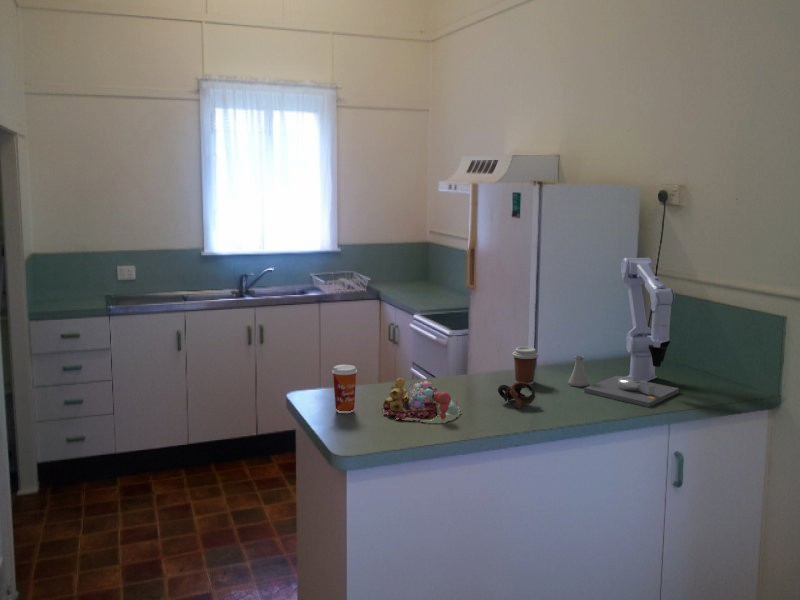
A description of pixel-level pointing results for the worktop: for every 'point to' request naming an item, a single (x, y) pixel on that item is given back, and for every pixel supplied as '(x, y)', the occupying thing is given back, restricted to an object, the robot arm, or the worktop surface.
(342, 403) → the paper cup
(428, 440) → the worktop surface
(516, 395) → the brown pretzel
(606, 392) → the base plate
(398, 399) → the candy landscape model
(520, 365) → the coffee cup
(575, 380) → the flask
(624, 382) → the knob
